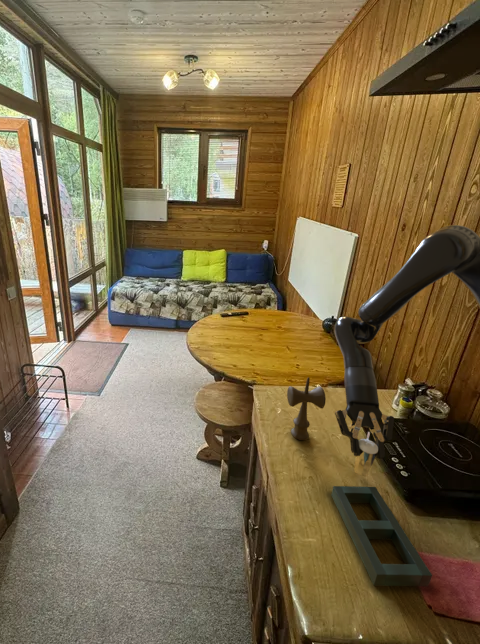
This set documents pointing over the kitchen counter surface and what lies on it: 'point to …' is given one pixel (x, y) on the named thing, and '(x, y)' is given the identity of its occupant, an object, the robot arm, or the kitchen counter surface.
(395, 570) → the frame
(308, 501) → the kitchen counter surface
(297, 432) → the kendama
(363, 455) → the milkshake
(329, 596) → the kitchen counter surface
